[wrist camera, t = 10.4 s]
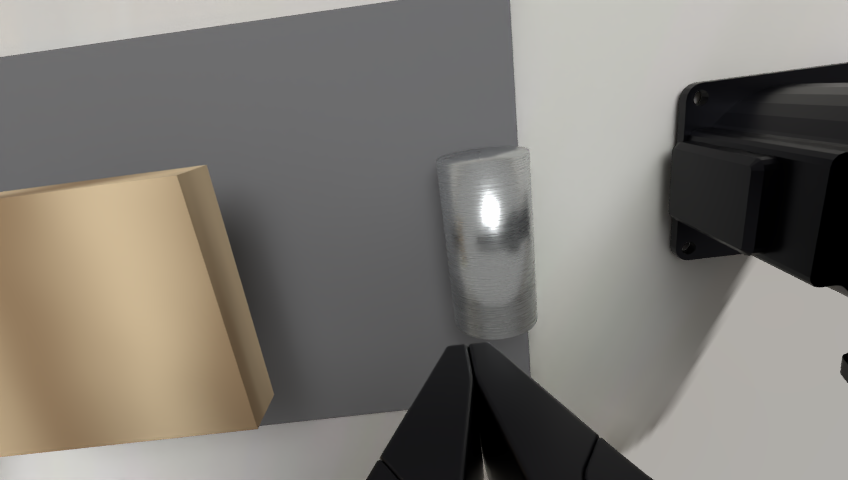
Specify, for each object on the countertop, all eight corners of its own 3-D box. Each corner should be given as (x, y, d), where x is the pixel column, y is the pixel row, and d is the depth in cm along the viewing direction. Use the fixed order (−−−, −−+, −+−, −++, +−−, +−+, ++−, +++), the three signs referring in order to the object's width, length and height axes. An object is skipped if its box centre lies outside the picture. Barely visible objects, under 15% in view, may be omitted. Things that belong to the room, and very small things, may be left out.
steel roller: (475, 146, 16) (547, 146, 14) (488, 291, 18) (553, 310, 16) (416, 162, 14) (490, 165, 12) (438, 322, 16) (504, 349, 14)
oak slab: (206, 164, 12) (176, 175, 11) (274, 394, 15) (257, 428, 13) (-127, 208, 13) (-201, 224, 11) (-3, 425, 15) (-50, 462, 14)
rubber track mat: (506, -13, 14) (508, -16, 14) (529, 390, 19) (531, 396, 19) (-347, 109, 15) (-367, 109, 15) (-106, 459, 20) (-116, 466, 20)
